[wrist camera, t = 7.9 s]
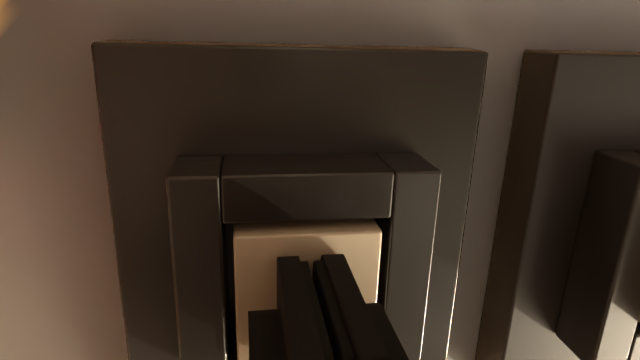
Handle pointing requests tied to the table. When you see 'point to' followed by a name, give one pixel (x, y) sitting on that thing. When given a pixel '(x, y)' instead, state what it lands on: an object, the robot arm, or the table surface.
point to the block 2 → (569, 214)
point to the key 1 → (309, 244)
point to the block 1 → (282, 174)
